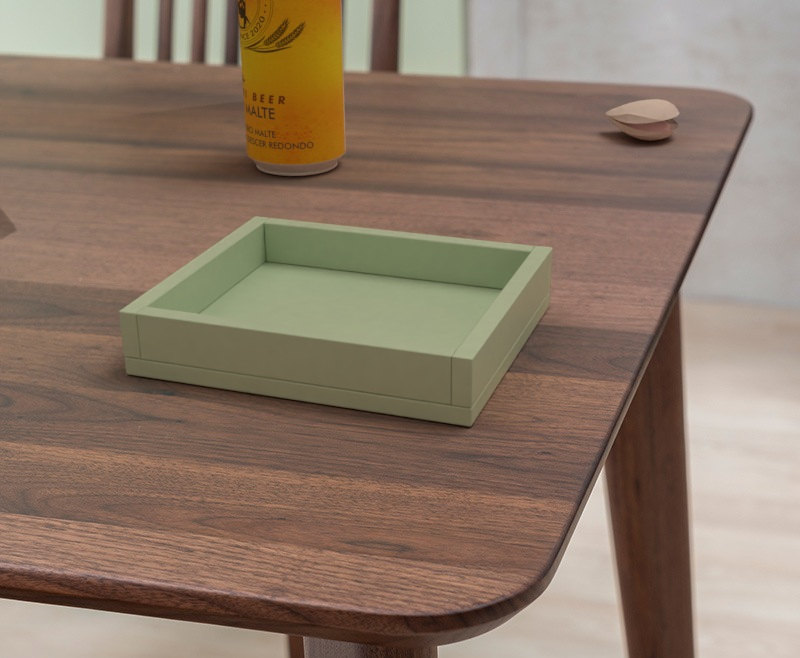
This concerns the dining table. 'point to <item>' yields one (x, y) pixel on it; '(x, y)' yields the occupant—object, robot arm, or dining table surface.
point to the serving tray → (344, 317)
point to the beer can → (293, 84)
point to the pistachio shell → (645, 119)
